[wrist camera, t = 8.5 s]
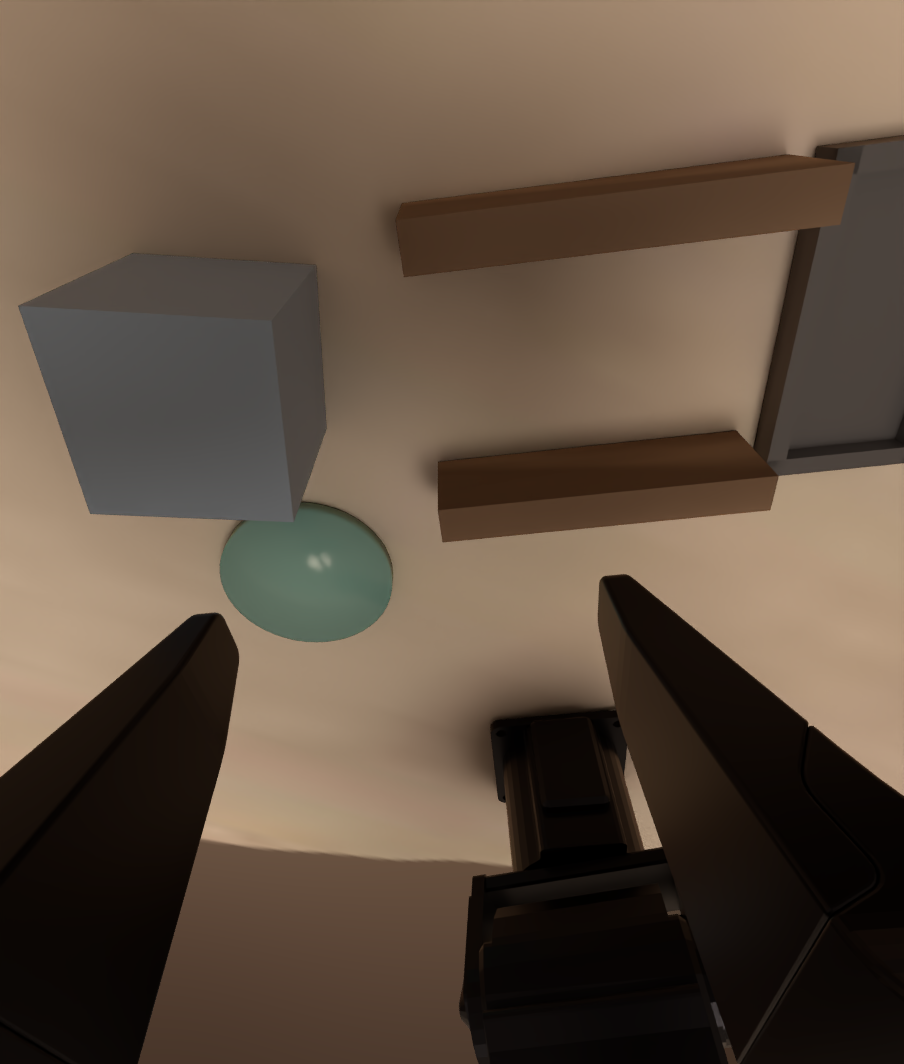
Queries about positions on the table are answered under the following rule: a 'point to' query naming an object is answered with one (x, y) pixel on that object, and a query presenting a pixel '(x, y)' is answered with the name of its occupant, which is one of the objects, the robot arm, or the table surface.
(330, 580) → the coaster
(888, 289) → the tray
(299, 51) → the table surface
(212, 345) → the block
